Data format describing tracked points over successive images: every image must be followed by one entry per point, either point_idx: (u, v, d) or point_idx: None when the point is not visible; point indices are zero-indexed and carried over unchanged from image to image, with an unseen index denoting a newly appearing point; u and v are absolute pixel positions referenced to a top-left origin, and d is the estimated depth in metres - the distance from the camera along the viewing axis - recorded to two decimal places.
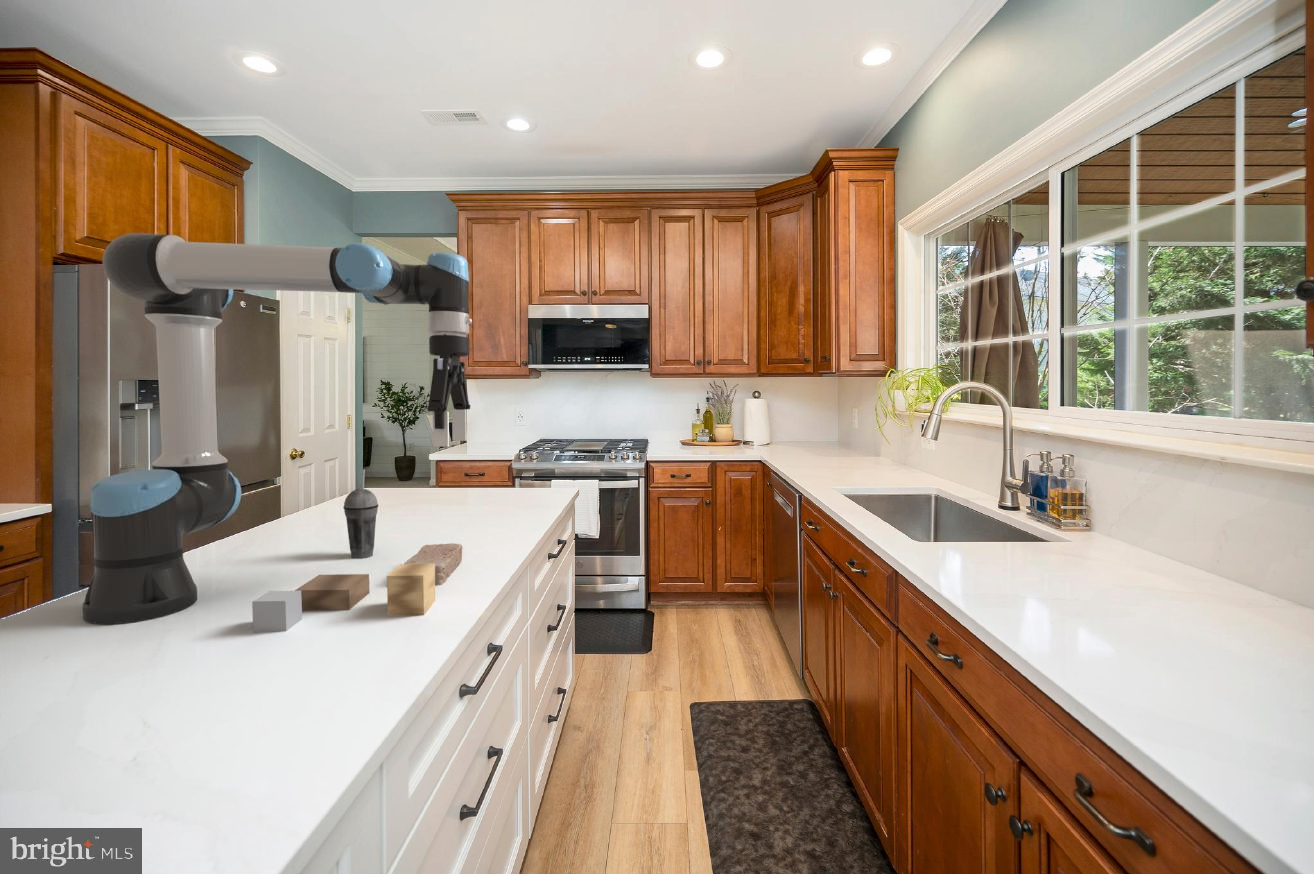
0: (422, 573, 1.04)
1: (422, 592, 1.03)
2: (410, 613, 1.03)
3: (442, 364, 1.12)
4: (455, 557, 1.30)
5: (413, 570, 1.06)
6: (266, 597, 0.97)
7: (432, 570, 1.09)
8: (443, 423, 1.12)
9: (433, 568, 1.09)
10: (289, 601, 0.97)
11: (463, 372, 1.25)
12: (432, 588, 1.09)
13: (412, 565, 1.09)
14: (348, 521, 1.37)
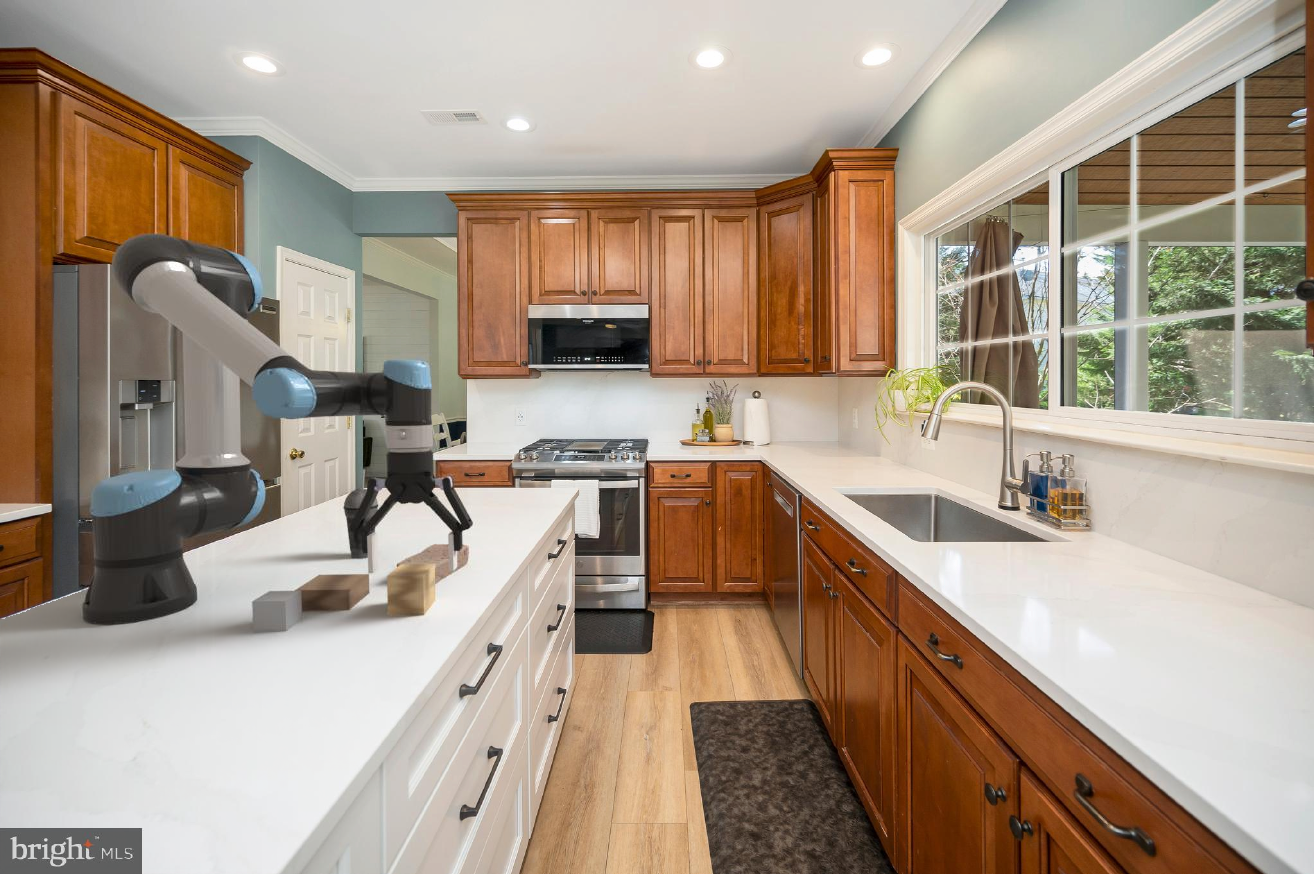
0: (423, 573, 1.04)
1: (422, 592, 1.03)
2: (410, 613, 1.03)
3: None
4: None
5: (414, 570, 1.06)
6: (266, 597, 0.97)
7: (432, 570, 1.09)
8: (365, 547, 1.05)
9: (433, 568, 1.09)
10: (289, 601, 0.97)
11: (444, 490, 1.05)
12: (432, 588, 1.09)
13: (413, 565, 1.09)
14: (348, 521, 1.37)
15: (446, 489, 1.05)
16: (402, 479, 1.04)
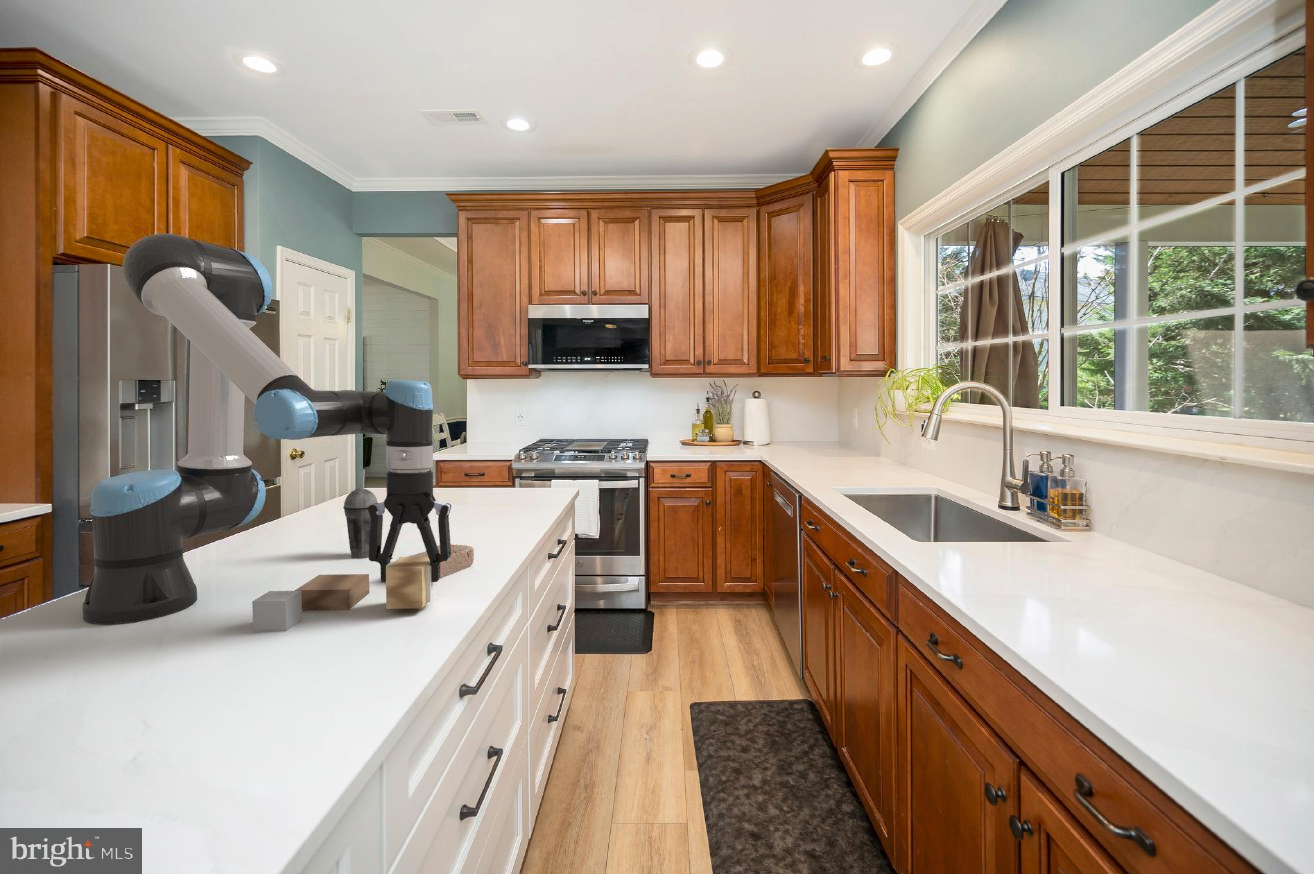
0: (421, 566, 1.04)
1: (421, 585, 1.03)
2: (409, 606, 1.04)
3: None
4: (455, 560, 1.27)
5: (412, 563, 1.06)
6: (266, 597, 0.97)
7: None
8: (384, 576, 1.05)
9: None
10: (289, 601, 0.97)
11: (439, 516, 1.05)
12: None
13: (412, 558, 1.09)
14: (348, 521, 1.37)
15: (441, 516, 1.05)
16: (399, 495, 1.04)
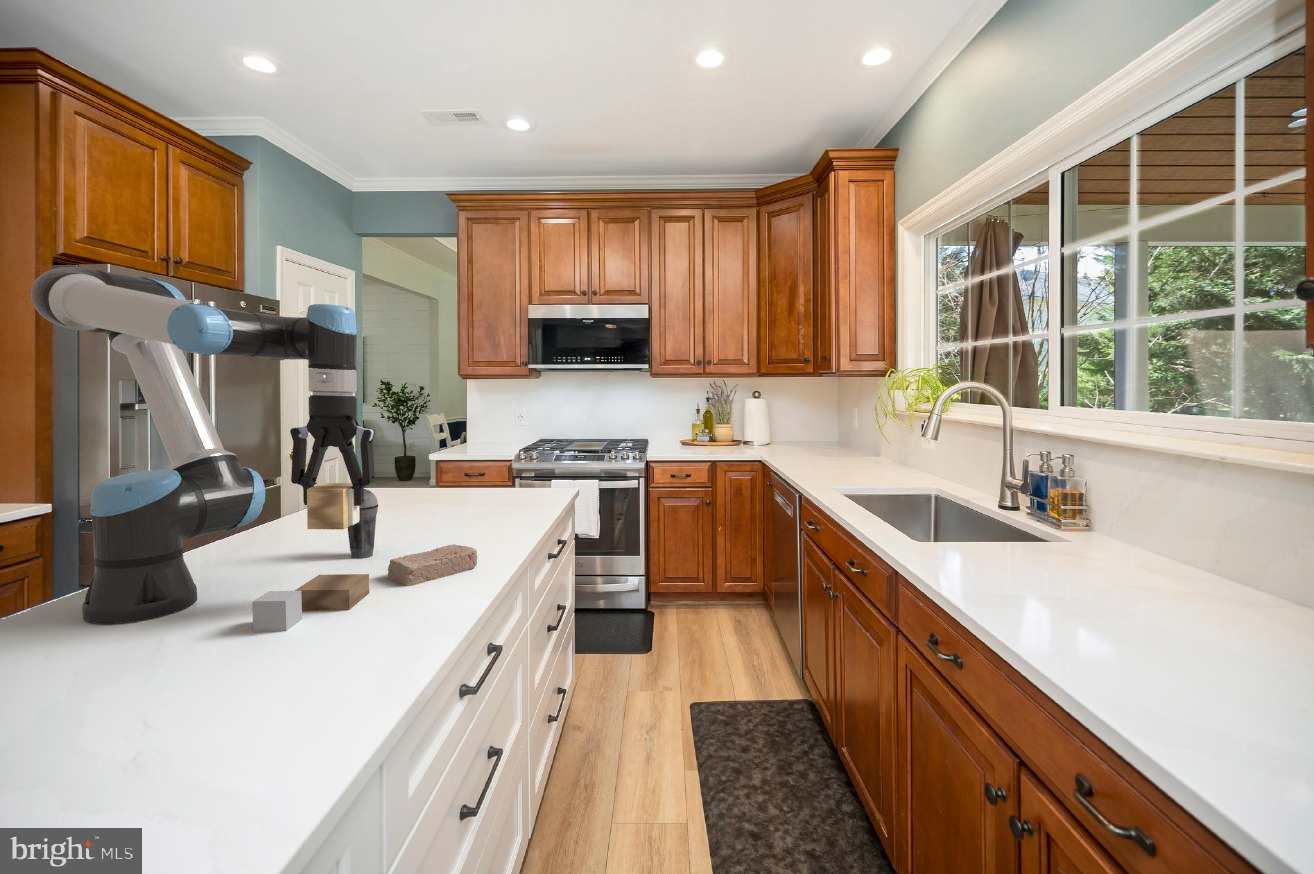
0: (343, 488, 1.06)
1: (342, 506, 1.05)
2: (330, 527, 1.05)
3: None
4: (452, 561, 1.26)
5: (335, 486, 1.08)
6: (267, 597, 0.97)
7: None
8: None
9: None
10: (289, 601, 0.97)
11: (361, 440, 1.07)
12: None
13: (337, 483, 1.11)
14: None
15: (363, 440, 1.07)
16: (321, 418, 1.06)
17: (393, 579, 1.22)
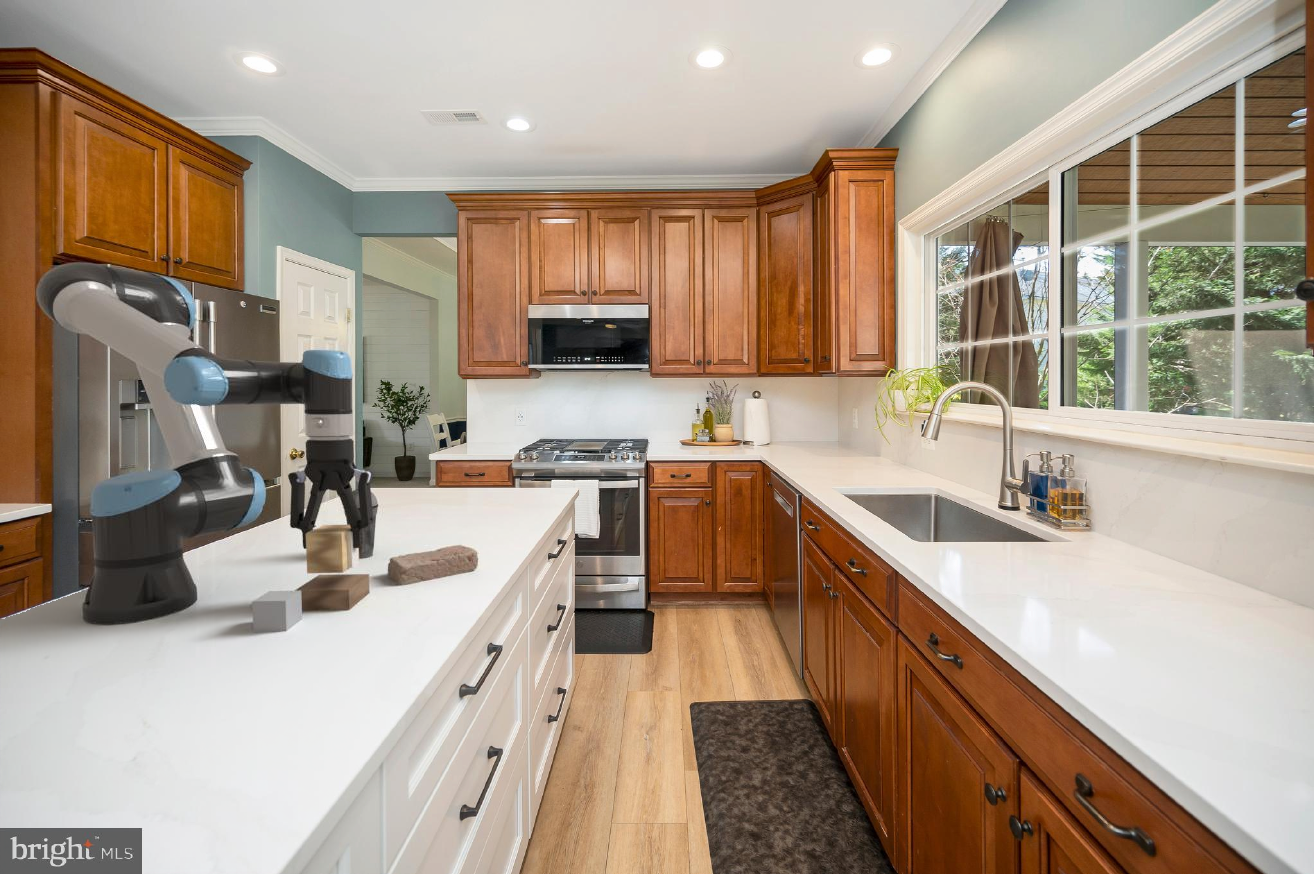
0: (342, 531, 1.06)
1: (341, 550, 1.06)
2: (329, 570, 1.06)
3: None
4: (450, 563, 1.25)
5: (334, 529, 1.08)
6: (267, 597, 0.97)
7: None
8: None
9: None
10: (289, 601, 0.97)
11: (358, 483, 1.07)
12: None
13: (335, 525, 1.11)
14: (348, 521, 1.37)
15: (361, 483, 1.07)
16: (318, 462, 1.07)
17: (391, 577, 1.23)
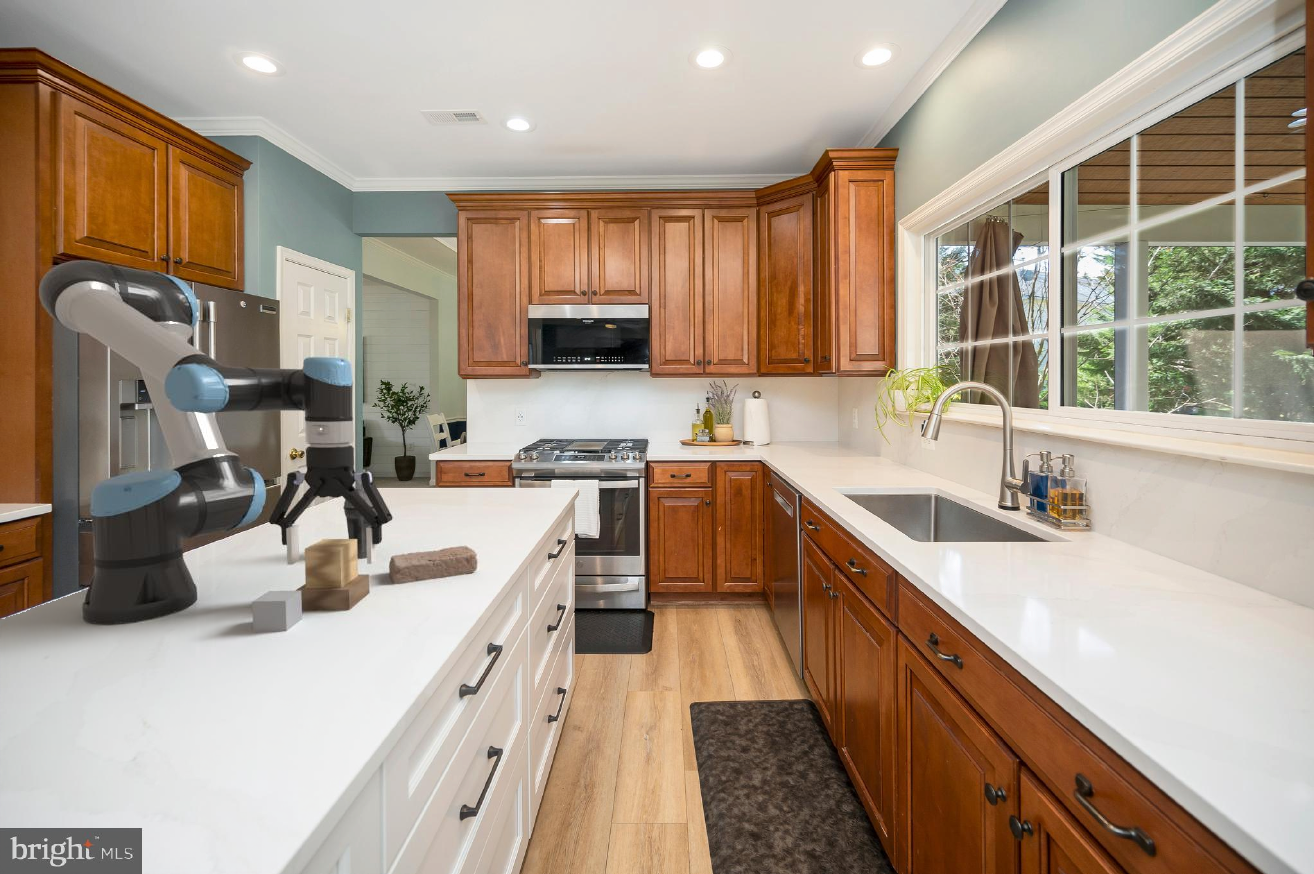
0: (340, 547, 1.07)
1: (339, 565, 1.06)
2: (328, 585, 1.06)
3: None
4: (446, 564, 1.25)
5: (333, 544, 1.09)
6: (266, 597, 0.97)
7: (353, 545, 1.11)
8: (285, 539, 1.07)
9: (355, 543, 1.12)
10: (289, 601, 0.97)
11: (362, 484, 1.07)
12: (353, 562, 1.11)
13: (335, 540, 1.12)
14: (348, 521, 1.37)
15: (365, 484, 1.07)
16: (321, 473, 1.07)
17: (391, 575, 1.24)
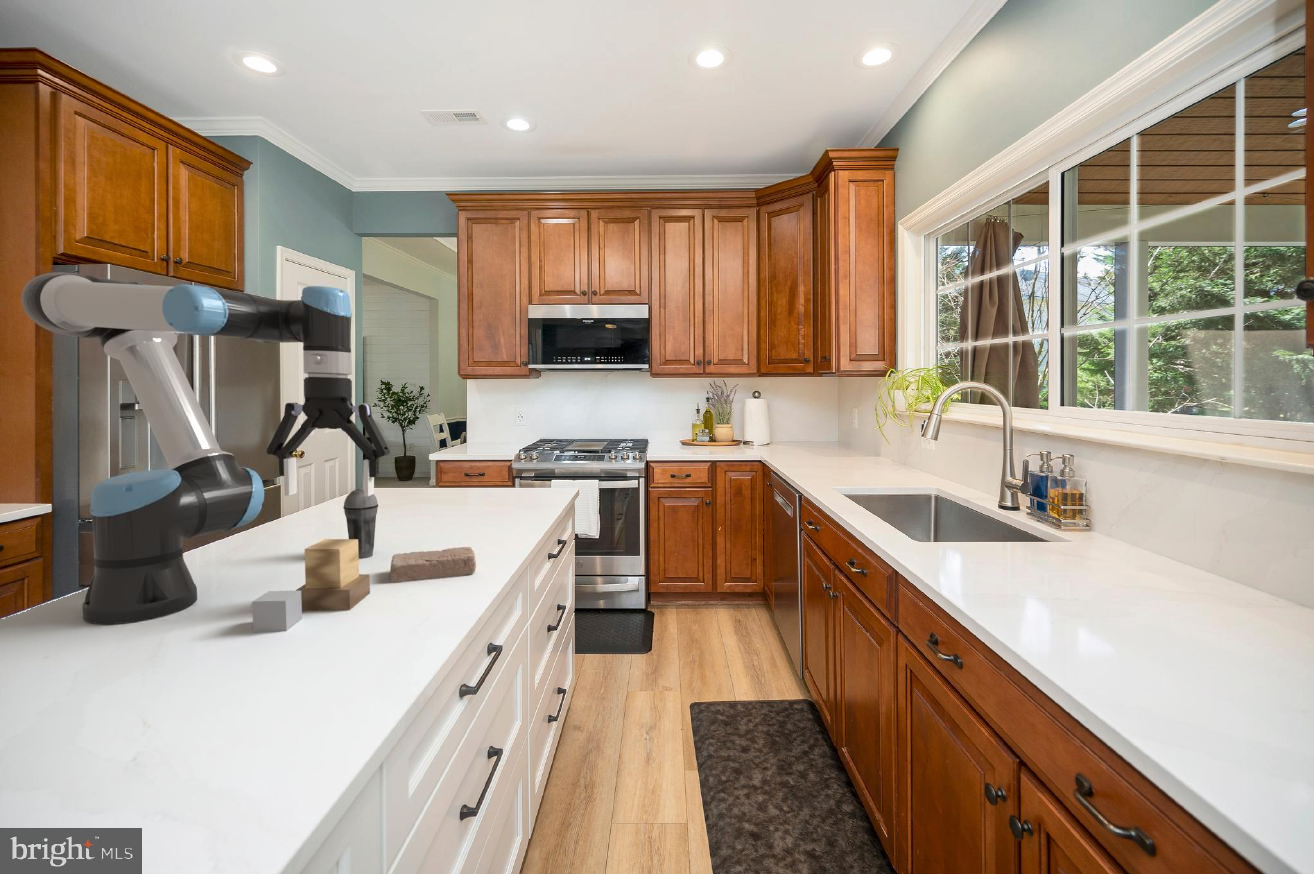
0: (340, 547, 1.06)
1: (338, 565, 1.06)
2: (327, 586, 1.06)
3: None
4: (443, 564, 1.24)
5: (333, 544, 1.08)
6: (266, 597, 0.97)
7: (354, 545, 1.11)
8: (282, 470, 1.07)
9: (356, 543, 1.12)
10: (289, 601, 0.97)
11: (360, 416, 1.07)
12: (354, 563, 1.11)
13: (336, 540, 1.11)
14: (348, 521, 1.37)
15: (362, 416, 1.07)
16: (319, 404, 1.07)
17: None
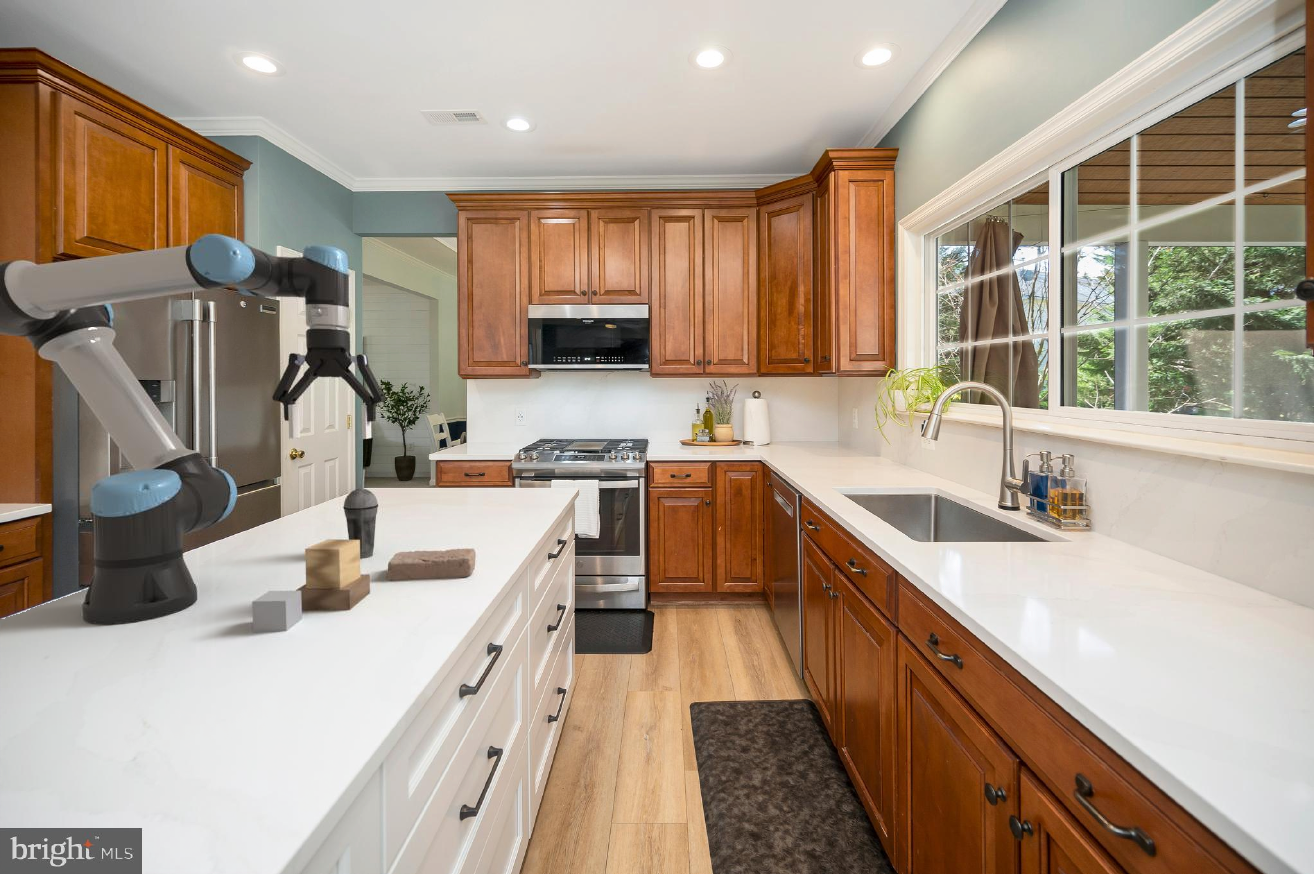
0: (340, 547, 1.06)
1: (338, 566, 1.05)
2: (327, 586, 1.06)
3: None
4: (438, 565, 1.23)
5: (334, 544, 1.08)
6: (266, 597, 0.97)
7: (355, 546, 1.11)
8: (287, 415, 1.17)
9: (357, 544, 1.11)
10: (289, 601, 0.97)
11: (358, 365, 1.17)
12: (355, 563, 1.11)
13: (338, 540, 1.11)
14: (348, 521, 1.37)
15: (360, 365, 1.17)
16: (320, 354, 1.17)
17: None
